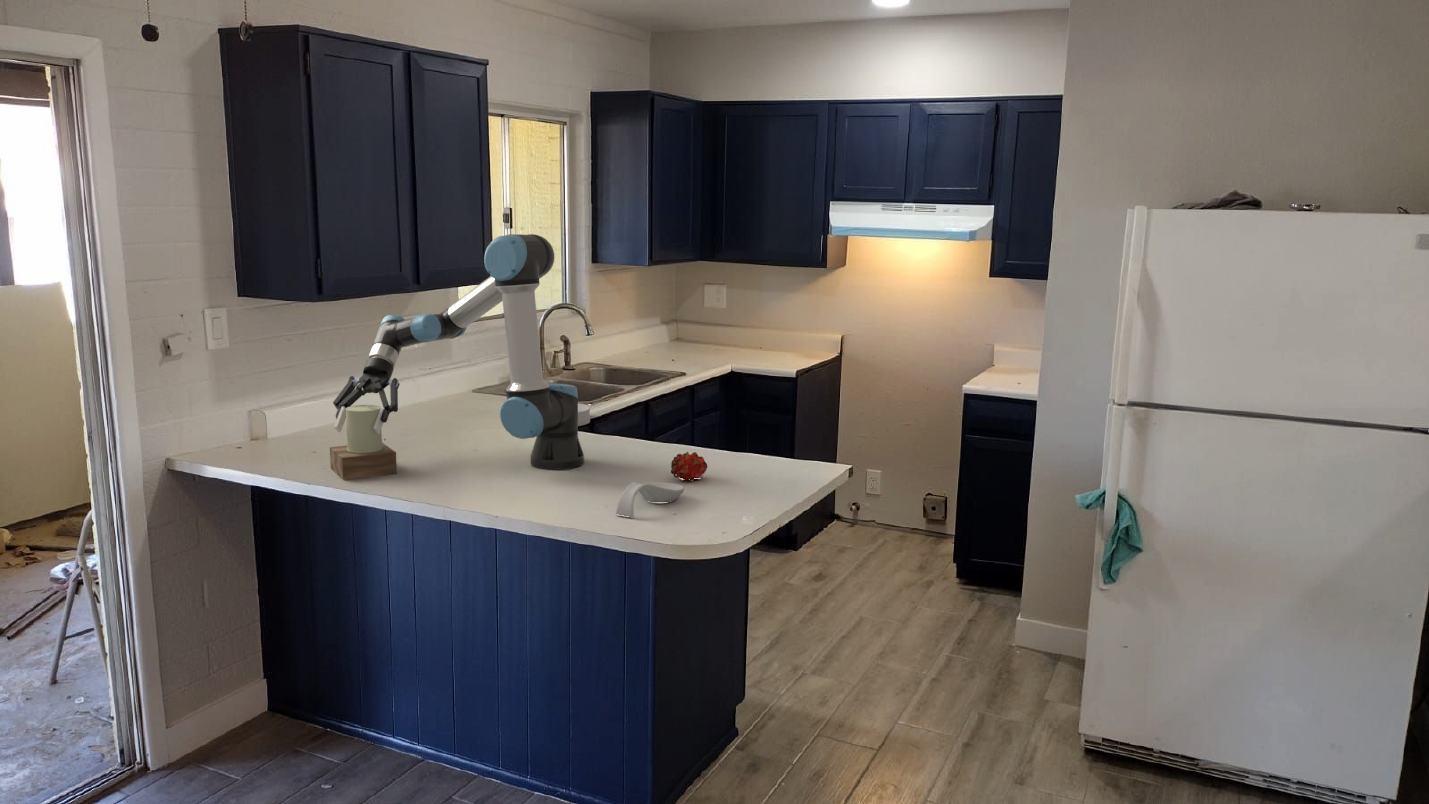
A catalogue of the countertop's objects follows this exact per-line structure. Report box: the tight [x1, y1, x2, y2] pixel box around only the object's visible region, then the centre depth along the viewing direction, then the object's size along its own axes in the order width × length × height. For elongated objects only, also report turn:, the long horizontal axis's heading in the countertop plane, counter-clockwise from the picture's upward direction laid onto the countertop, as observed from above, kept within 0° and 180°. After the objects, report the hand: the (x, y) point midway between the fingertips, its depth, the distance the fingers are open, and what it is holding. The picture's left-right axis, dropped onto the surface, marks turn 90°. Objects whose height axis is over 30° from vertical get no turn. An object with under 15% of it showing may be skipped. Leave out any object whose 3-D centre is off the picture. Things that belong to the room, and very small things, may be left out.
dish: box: [578, 402, 591, 427], centre depth 350 cm, size 22×22×5 cm
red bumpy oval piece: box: [670, 451, 709, 481], centre depth 276 cm, size 8×8×12 cm
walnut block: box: [329, 442, 398, 481], centre depth 277 cm, size 14×14×6 cm
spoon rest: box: [615, 481, 685, 517], centre depth 251 cm, size 24×12×7 cm, turn 155°
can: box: [345, 404, 383, 453], centre depth 275 cm, size 9×9×12 cm
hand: (356, 430), depth 272 cm, fingers open, 10 cm apart
